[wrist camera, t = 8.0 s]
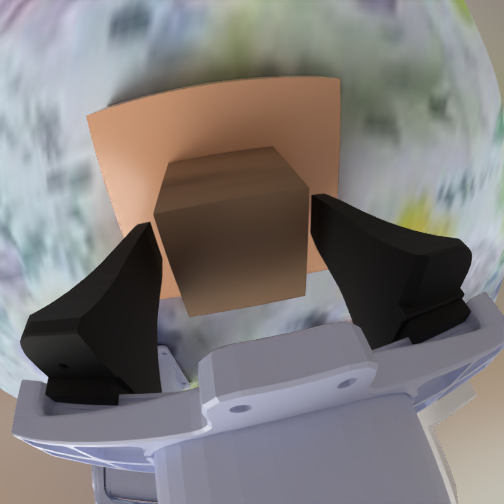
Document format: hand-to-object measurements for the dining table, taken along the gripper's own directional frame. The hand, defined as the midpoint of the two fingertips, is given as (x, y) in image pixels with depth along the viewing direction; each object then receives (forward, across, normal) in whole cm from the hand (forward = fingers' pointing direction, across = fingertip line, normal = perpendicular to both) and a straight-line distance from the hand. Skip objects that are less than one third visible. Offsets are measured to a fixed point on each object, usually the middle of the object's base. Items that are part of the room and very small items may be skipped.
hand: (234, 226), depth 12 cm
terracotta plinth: (+5, 0, 0) cm, 5 cm away
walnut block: (+2, 0, 0) cm, 2 cm away
